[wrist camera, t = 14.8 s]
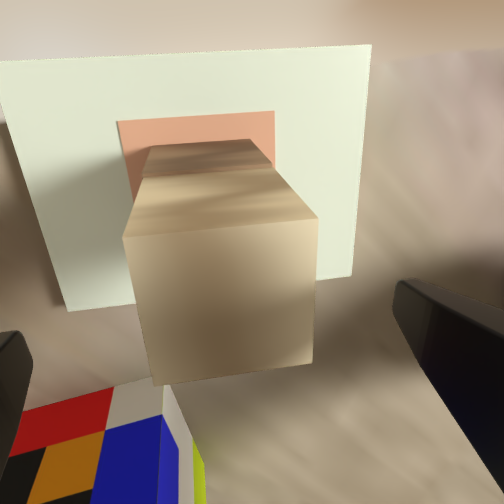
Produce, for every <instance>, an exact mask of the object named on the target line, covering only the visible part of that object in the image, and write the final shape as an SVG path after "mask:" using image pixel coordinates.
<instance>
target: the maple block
mask: <svg viewBox="0 0 504 504" xmlns="http://www.w3.org/2000/svg"><path fill="white" fill-rule="evenodd" d="M318 226H319V218H318V217H317V216H316V215H315V213H314V212H313V211H312V210H311V209H310V208H309V207H308V206H307V204H306V203H305V202H304V201H303V200H302V199H301V198H300V197H299V195H298V194H297V193H296V192H295V191H294V190H293V189H292V188H291V186H290V185H289V184H288V183H287V182H286V181H285V180H284V179H283V177H282V176H281V175H280V174H279V173H278V172H277V171H276V170H275V168H274V167H271V168H258V169H246V170H233V171H221V172H208V173H195V174H183V175H170V176H158V177H145V178H143V180H142V182H141V185H140V188H139V191H138V194H137V197H136V200H135V202H134V205H133V208H132V211H131V214H130V217H129V219H128V222H127V225H126V228H125V231H124V234H123V237H122V240H123V244H124V249H125V254H126V259H127V263H128V268H129V273H130V277H131V282H132V287H133V291H134V296H135V301H136V305H137V310H138V315H139V319H140V324H141V329H142V333H143V338H144V343H145V347H146V352H147V357H148V361H149V366H150V371H151V376H152V380H153V385H154V387H156V386H163V385H170V384H176V383H183V382H190V381H196V380H203V379H209V378H216V377H223V376H229V375H236V374H243V373H249V372H256V371H263V370H269V369H276V368H282V367H289V366H296V365H302V364H309V363H312V357H313V335H314V313H315V291H316V269H317V248H318Z"/></svg>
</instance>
